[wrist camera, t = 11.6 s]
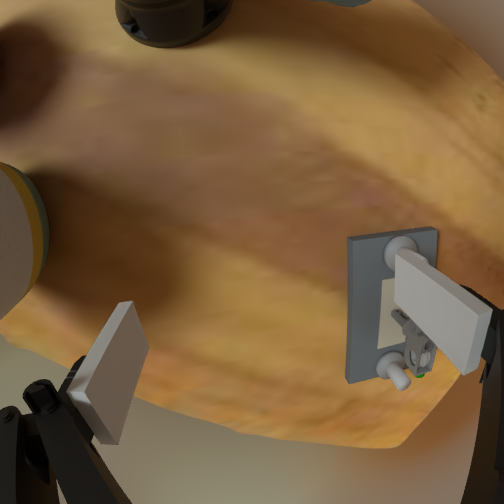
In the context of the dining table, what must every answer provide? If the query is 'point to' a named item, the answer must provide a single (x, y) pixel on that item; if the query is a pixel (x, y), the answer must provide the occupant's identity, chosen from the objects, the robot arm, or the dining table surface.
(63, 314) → the dining table surface
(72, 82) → the dining table surface
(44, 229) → the planter
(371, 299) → the gear board
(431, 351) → the mechanical component
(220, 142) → the dining table surface
